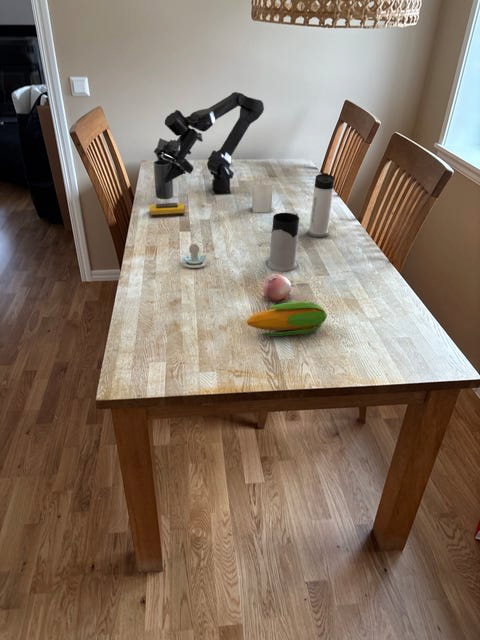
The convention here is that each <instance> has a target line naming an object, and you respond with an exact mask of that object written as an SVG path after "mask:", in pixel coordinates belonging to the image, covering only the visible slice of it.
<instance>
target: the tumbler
mask: <svg viewBox="0 0 480 640" xmlns="http://www.w3.org/2000/svg"><path fill="white" fill-rule="evenodd" d="M171 167H172V162H171V161H168V160H158V159H157V160H154V161H153V176H154V189H155V190H154V191H155V196H156V198H157V199H159V200H169V199H172V198H174V185H173V184H174V183H173V182H174V181H173V180H174V179H173V180H171V181H169V182H167V183H166V182H165V181H164V180H165V178H166V176H167V175H168V173H169V171H170V169H171Z"/></svg>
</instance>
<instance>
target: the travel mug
mask: <svg viewBox="0 0 480 640" xmlns="http://www.w3.org/2000/svg"><path fill="white" fill-rule="evenodd" d="M335 181H336V177H335V176H333V175H332V174H329V173H328V172H322V173H319V174H317V175H316V176H315V180H314V185H313V186H314V188H313V195H312V204H311V212H310V221H309V229H308V234H309V235H310V236H312V237H314V238H324V237H327V236H328V232H329V227H330V226H329V225H330V219H331V217H330V216H331V211H332V204H333V196H334V189H335Z"/></svg>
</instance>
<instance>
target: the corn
mask: <svg viewBox="0 0 480 640" xmlns="http://www.w3.org/2000/svg"><path fill="white" fill-rule="evenodd" d="M327 318H328V314H327V312H326V311H325V309H324V308H323V307H322V306H320V305H319V304H316V303H315V302H312V301H290V302H289V301H288V302H282V303H278V304H277V303H276V304H274V305H272V306H269V309H268V310H263V311H262V310H261V311H260V312H258V313H255V314H253V315H251V316H250V317H249V318H248V319H247V320H246V324H247V325H248V326H250V327H252V328H255V329H259V330H262V331H272V332H266V333H265V332H264V333H261V334H260V335H261V336H269V337H270V336H271V337H278V336H280V337H281V336H295V335H309V334H310V333H312V332H315V331H316V330H317V331H318V329H319V328H320V327H321V326H322V325H323V323H324V322H325V321H326V319H327ZM273 331H275V332H273ZM276 331H279V332H276Z"/></svg>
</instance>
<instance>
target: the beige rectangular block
mask: <svg viewBox="0 0 480 640" xmlns="http://www.w3.org/2000/svg"><path fill="white" fill-rule="evenodd" d="M252 188H253V189H252V202H251V203H252V204H251V210H252V213H272V205H273V203H272V202H273V184H272V183H253V187H252Z"/></svg>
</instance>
